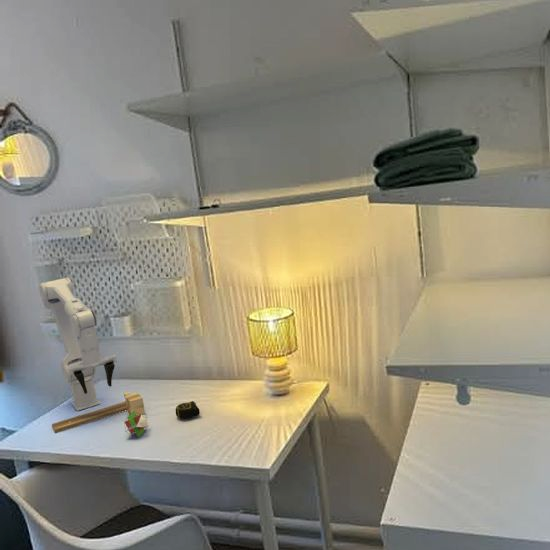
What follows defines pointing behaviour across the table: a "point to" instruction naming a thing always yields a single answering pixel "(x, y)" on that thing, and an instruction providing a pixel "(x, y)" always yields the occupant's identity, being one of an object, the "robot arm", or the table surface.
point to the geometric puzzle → (136, 424)
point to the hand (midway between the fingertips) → (97, 389)
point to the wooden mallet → (134, 403)
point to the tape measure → (187, 410)
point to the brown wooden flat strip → (89, 417)
